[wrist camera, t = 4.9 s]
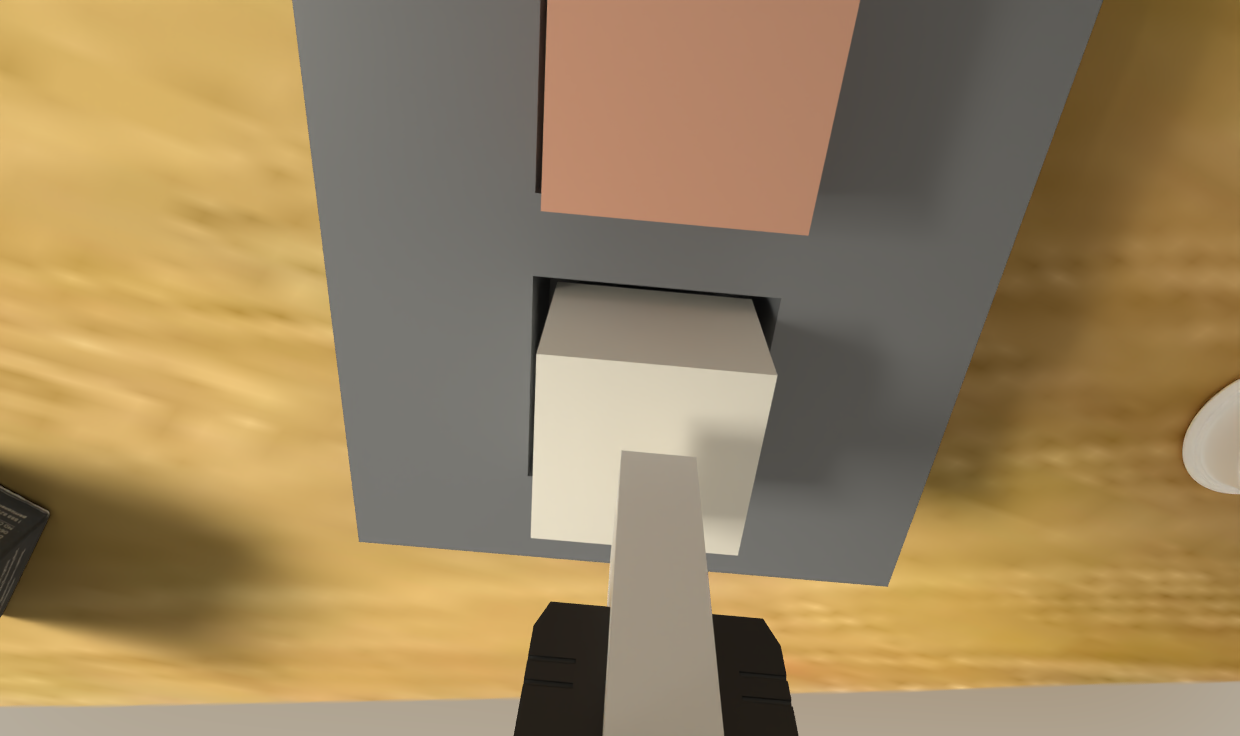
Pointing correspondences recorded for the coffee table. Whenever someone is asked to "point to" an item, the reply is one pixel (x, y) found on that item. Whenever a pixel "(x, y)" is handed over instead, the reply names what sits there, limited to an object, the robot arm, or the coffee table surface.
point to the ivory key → (646, 404)
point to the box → (17, 539)
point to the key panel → (666, 265)
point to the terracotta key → (692, 109)
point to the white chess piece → (1216, 442)
